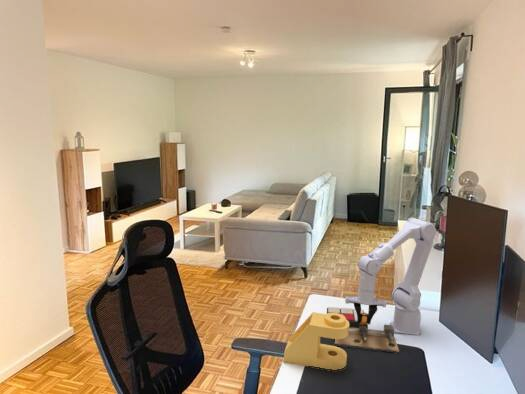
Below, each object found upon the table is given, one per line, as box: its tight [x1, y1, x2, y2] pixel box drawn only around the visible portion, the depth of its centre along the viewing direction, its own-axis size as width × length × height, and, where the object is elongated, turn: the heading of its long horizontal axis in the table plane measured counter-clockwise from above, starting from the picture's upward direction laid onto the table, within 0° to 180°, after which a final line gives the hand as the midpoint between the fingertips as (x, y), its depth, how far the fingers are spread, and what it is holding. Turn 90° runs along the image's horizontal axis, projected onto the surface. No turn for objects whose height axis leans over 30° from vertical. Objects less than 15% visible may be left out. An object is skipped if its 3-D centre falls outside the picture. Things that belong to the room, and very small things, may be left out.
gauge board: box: [334, 323, 400, 353], centre depth 139 cm, size 22×13×5 cm, turn 81°
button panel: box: [326, 306, 365, 328], centre depth 153 cm, size 11×4×15 cm
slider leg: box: [358, 312, 369, 342], centre depth 139 cm, size 3×9×7 cm, turn 171°
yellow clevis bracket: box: [283, 311, 349, 370], centre depth 125 cm, size 20×9×16 cm, turn 75°
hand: (363, 322), depth 141 cm, fingers closed on slider leg, 3 cm apart
